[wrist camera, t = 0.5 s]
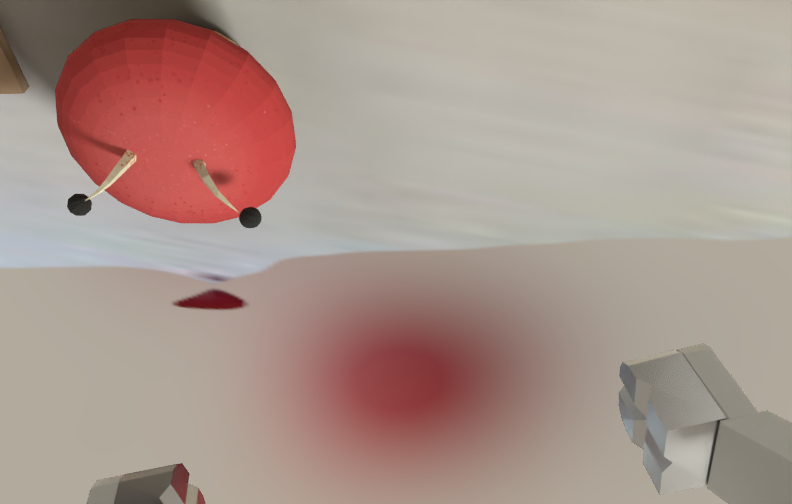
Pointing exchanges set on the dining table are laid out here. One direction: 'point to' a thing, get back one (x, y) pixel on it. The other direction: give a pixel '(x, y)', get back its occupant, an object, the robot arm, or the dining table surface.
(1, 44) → the base board
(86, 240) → the dining table surface
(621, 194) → the dining table surface
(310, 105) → the dining table surface
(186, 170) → the mushroom
